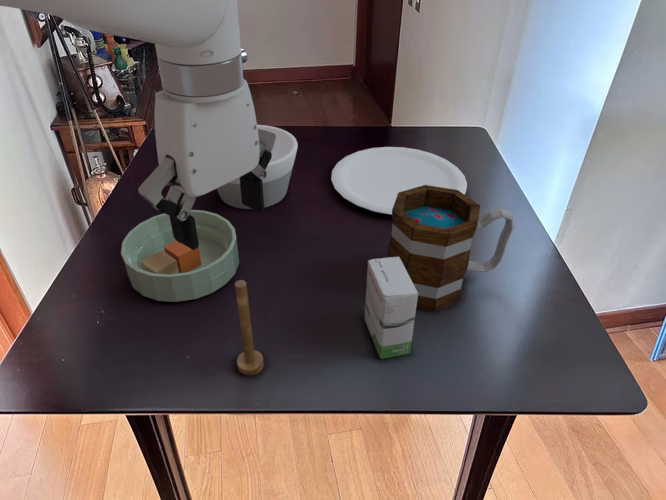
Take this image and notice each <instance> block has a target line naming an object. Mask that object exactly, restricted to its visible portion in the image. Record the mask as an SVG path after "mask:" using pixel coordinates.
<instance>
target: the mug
mask: <svg viewBox="0 0 666 500" xmlns="http://www.w3.org/2000/svg"><path fill="white" fill-rule="evenodd" d="M480 209H481V205H480V204H478V203H477V202H476V201H474V200H472V199H471V198H469V197H468V196H467V195H466V194H465V195H464V194H463V193H461V192H460V191H458V190H454V189H448V188H442V187H436V186H429V185H423V186H419V187H416V188H413V189H409V190H406V191H402V192H399V193H398V195H397V198H396V200H395V203H394V206H393V209H392V215H391V216H392V217H391V218H392V219H391V220H392V225H391V233H390V240H389V244H388V249H387V258H388V257H400V259H401V261H402V263H403V265H404V267H405V269H406V271H407V273H408V275H409V277H410V279H411V281H412V283H413V284H414V286H415V288H416V290H417V292H418V299H417V306H416V309H418V310H419V309H420V310H424V311H429V312H437V311H439V310H441V309H444V308H447V307H449V306H452V305H455V304H456V303H459V302H460V301H461V296H462V290H463V289H462V288H463V282H464V277H465V275H466V272H467V271H473V272H480V273H487V272H489V271H493V270H495V269H496V268H497V267H498V265H500V263H501V262H502V261H503V258H504V255H505V253H506V250H507V247H508V243H509V240H510V238H511V236H512V234H513V231H514V228H515V225H514V217H513V213H512V212H510V211H508V210H506V209H503V208H501V207H498V208H495V209H491V210H489V211H487V212H486V213H485V214H484V215H482V216H481V217H480ZM501 218H503V219H505V220H504V221H505V222H504V225H503V228H502V230H501V232H500V235H499V238H498V240H497V244H496V247H495V251H494V254H493V255H492V257H491V258H489V260H487V261H484V262H479V261H475V260H470V254H471V248H472V247H471V246H472V243H473V239H474V236H475V233H476V231H478V230H482V229H485V228H486V227H488V226H489V225H490V224H491V223H493V222H494V221H496V220H499V219H501Z"/></svg>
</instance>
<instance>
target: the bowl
mask: <svg viewBox="0 0 666 500" xmlns="http://www.w3.org/2000/svg"><path fill="white" fill-rule="evenodd" d="M257 128H258V129H263V130H267V131H269V132H272V133H274V134H275V135H276V139H275V142H274V146H273V149H272V150H271V153H272V158H271V160H270V162H269V164H268V166H267V168H266V172H267V175H266V177H265V179H263V180H262V183H263V197H264V209H265V208H269V207H271V206H274V205H275V204H278V203H279V202H281V201H282V200H283V199H284V198H285V197H286V195H287V192H288V188H289V184H290V181H291V180H290V179H291V177H292V172H293V167H294V164H295V160H296V156H297V152H298V147H299V143H298V141H297V138H296V137H295V135H293V134H292V133H290V132H289V131H287V130H285V129H283V128H280V127H277V126H272V125H265V124H257ZM215 190H216V191H217V193H218V196H219V197H220V199H221V200H222V201H223V202H224V203H225V204H227V205H228V206H230V207H233V208H235V209H240V210H241V209H242V210H243V209H244V210H253V209H252V208H250V207H248V206H246V205H244V204H243V203H242V199H241V188H240V177H239V178H237V179H235V180H233V181H231V182H229V183H227V184H225V185H223V186H220V187H218V188H216V189H215Z"/></svg>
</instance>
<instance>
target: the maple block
mask: <svg viewBox="0 0 666 500" xmlns="http://www.w3.org/2000/svg"><path fill="white" fill-rule="evenodd" d="M141 265H142V269H143V270H144V271H147V272H151V273H155V274H178V273H179V270H178V265H177V261H176V260H175V259H174V258H172V257H171V256H169V255H168V254H167V253H165V252H164V251H162V250H161V251H159V252H157V253H155V254H154V255H152V256H150V257H148V258H146V259H144V260H143V261H141Z"/></svg>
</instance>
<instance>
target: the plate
mask: <svg viewBox="0 0 666 500" xmlns="http://www.w3.org/2000/svg"><path fill="white" fill-rule="evenodd" d="M330 180H331V184H332V186H333V188H334V190H335V191H336V192H337V193H338V194H339V195H340V196H341V198H343V199H344V200H345V201H348V202H349V203H351V204H353V205H355V206H356V207H359V208H361V209H363V210H367V211H370V212H373V213H377V214H383V215H388V216H392V209H393V206H394V203H395V200H396V198H397V195H398V193H399V192H402V191H406V190H409V189H413V188H416V187H419V186H423V185H429V186H436V187H442V188H448V189H454V190H458V191H460V192H461V193H463V194H464V195H465V196H466V193H467V187H468V183H467V180H466V176H465V174H464V173H463V172H462V171H461V169H460V168H458V166H456V164H453V163H452V162H450V161H449V160H447V159H446V158H443V157H441V156H440V155H437V154H434V153H431V152H428V151H424V150H421V149H417V148H411V147H410V148H409V147H404V146H403V147H402V146H383V147H370V148H365V149H363V150H357V151H356V152H353V153H351V154H349V155H345V156H344V157H342V159H341V160H339V161H338V162H337V163H336V164H335V165H334V167H333V169H332V170H331V178H330Z"/></svg>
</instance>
